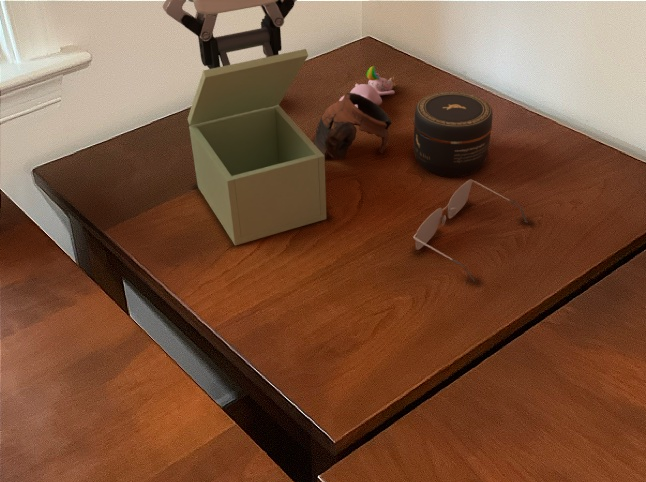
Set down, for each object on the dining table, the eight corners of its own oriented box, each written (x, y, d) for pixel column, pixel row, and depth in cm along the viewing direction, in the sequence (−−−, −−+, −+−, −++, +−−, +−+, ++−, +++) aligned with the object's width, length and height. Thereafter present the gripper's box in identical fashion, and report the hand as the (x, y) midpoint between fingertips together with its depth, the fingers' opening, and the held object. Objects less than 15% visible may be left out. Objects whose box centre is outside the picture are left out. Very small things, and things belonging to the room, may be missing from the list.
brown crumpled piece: (318, 131, 115) (346, 81, 112) (374, 167, 115) (405, 119, 112) (292, 154, 105) (323, 100, 101) (354, 194, 105) (387, 142, 101)
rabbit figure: (366, 91, 127) (324, 119, 114) (369, 52, 124) (326, 78, 112) (404, 98, 125) (365, 128, 112) (407, 59, 122) (368, 86, 110)
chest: (326, 219, 98) (324, 155, 92) (235, 245, 94) (227, 181, 88) (282, 165, 107) (278, 104, 102) (197, 187, 103) (188, 125, 98)
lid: (308, 55, 88) (293, 12, 88) (205, 77, 84) (190, 32, 84) (279, 104, 102) (266, 67, 102) (189, 125, 98) (176, 86, 98)
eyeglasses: (468, 199, 101) (474, 173, 98) (527, 225, 98) (534, 198, 95) (409, 257, 92) (413, 230, 89) (472, 288, 89) (478, 260, 86)
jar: (398, 150, 110) (400, 99, 105) (462, 134, 113) (467, 83, 109) (435, 187, 103) (439, 134, 98) (502, 169, 106) (509, 116, 101)
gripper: (293, -128, 85) (301, 37, 96) (128, -107, 79) (157, 66, 91) (322, -111, 80) (327, 62, 91) (148, -87, 74) (176, 94, 85)
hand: (242, 62), depth 91 cm, fingers closed on lid, 6 cm apart
